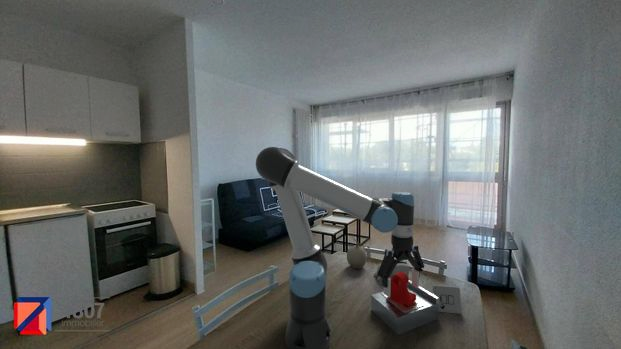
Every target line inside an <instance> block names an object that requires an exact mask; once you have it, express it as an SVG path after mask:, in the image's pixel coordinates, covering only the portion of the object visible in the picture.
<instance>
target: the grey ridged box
mask: <svg viewBox="0 0 621 349" xmlns="http://www.w3.org/2000/svg"><path fill="white" fill-rule="evenodd" d="M407 288H408V291H409V292H411V293H414V294H415V295H416V301H414V302H413V303H412V304H411V305H410V306H407V305H405V304H404V305H401V304H399V303H397V302H395V301H393V300H392V298H391V297H388V296H386V295H385V294H384V291H381V292H378V293H377V292H376V293H373V294H371V295H370V297H371V298H370V300H371V302H370V308H371V309H370V310H371V312H373V313H374V315H376V316H377V317H378V318H379V319H380V320H381V321H382V322H384V324H386V326H387V327H388V328H390V330H392V331H393V332H394V333H395V334H396V335H398V336H399V335H402V334H405V333H407V332H409V331H412V330H415V329H417V328H419V327H422V326H424V325H427V324H429V323H432V322H435V321H436V320H439V315H440V314H439V313H440V312H439V298H438V297H437V296H435V295H433V292H430V291H429V290H427V289H425V288H423V287H422V286H420V285H419V288H418V289H417V288H415V287H414V286H412V280H410V279H409V282H408V284H407Z"/></svg>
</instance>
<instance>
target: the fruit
mask: <svg viewBox="0 0 621 349" xmlns="http://www.w3.org/2000/svg"><path fill="white" fill-rule="evenodd" d="M351 238H352V239H353V241H355V243H356V245H352V246H351V247H350V248H348V250H347V252H346V260H347V262H348V263H347V264H348V266H350V267H352V268H353V269H355V270H357V269H358V270H359V269H362V268H363V267H365V266H366V263H367V261H368V260H367V252H369V250H368V249H367V248H366V247H365V246H364V245H362V244H361V243H359V242H358V241H357V240H356V239H355V238H354V237H353V236H352V237H351ZM366 251H367V252H366Z"/></svg>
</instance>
